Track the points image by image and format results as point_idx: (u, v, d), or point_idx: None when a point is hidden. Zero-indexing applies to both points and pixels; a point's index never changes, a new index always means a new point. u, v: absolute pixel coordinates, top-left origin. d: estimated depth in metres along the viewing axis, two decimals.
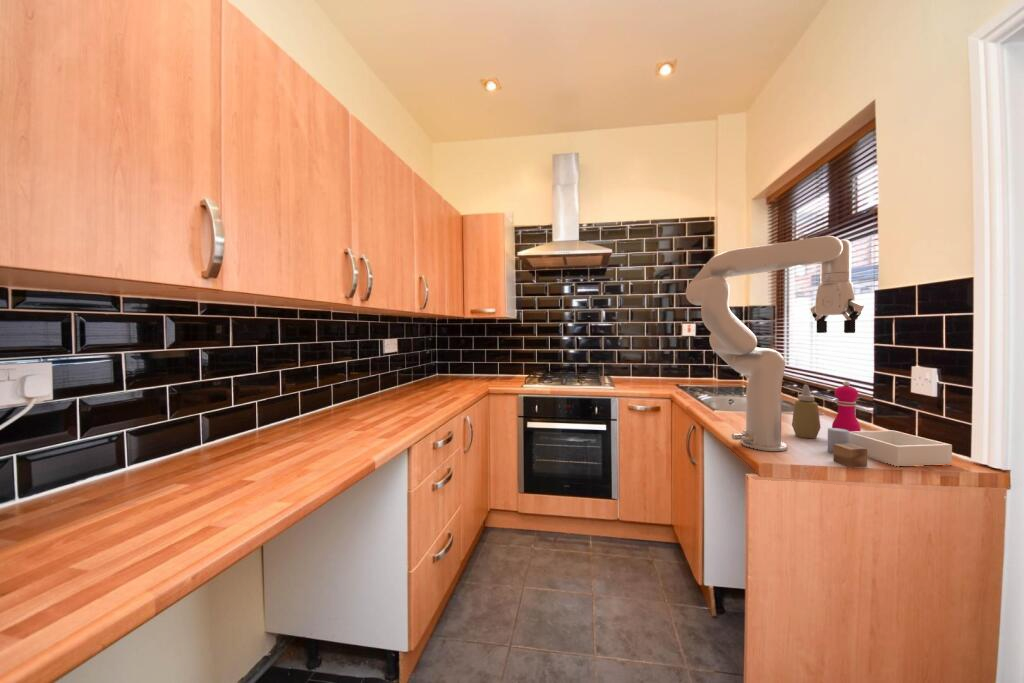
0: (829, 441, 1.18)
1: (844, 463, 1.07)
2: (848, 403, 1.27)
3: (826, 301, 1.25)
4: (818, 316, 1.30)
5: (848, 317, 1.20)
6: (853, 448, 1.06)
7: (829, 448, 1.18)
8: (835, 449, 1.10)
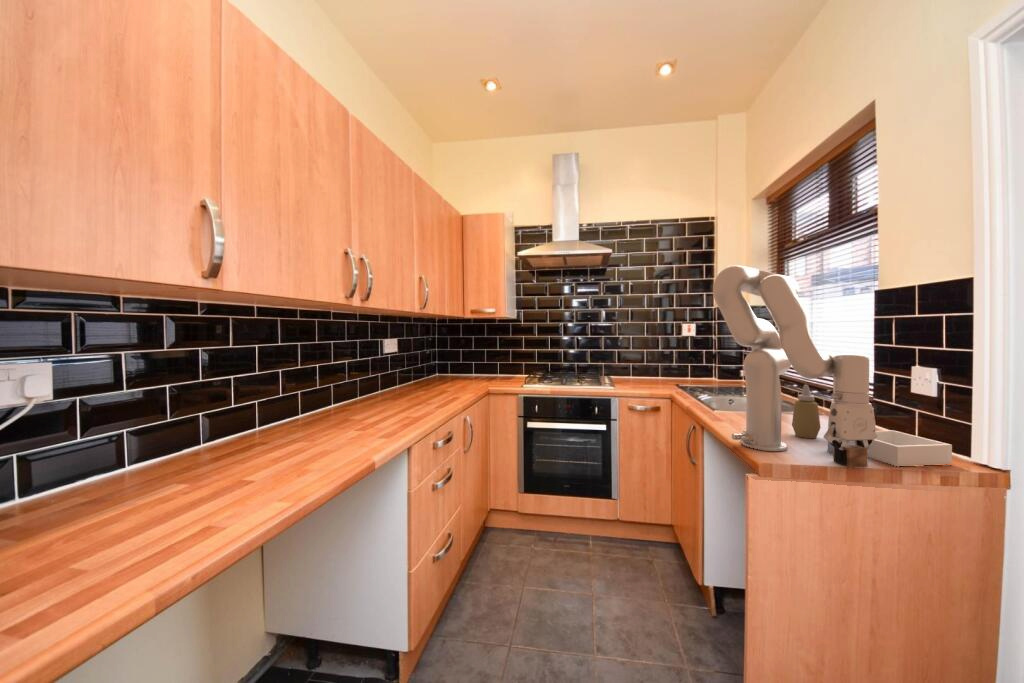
0: None
1: None
2: None
3: (859, 425, 1.05)
4: (845, 444, 1.07)
5: (867, 446, 1.07)
6: (853, 448, 1.06)
7: (829, 448, 1.18)
8: None
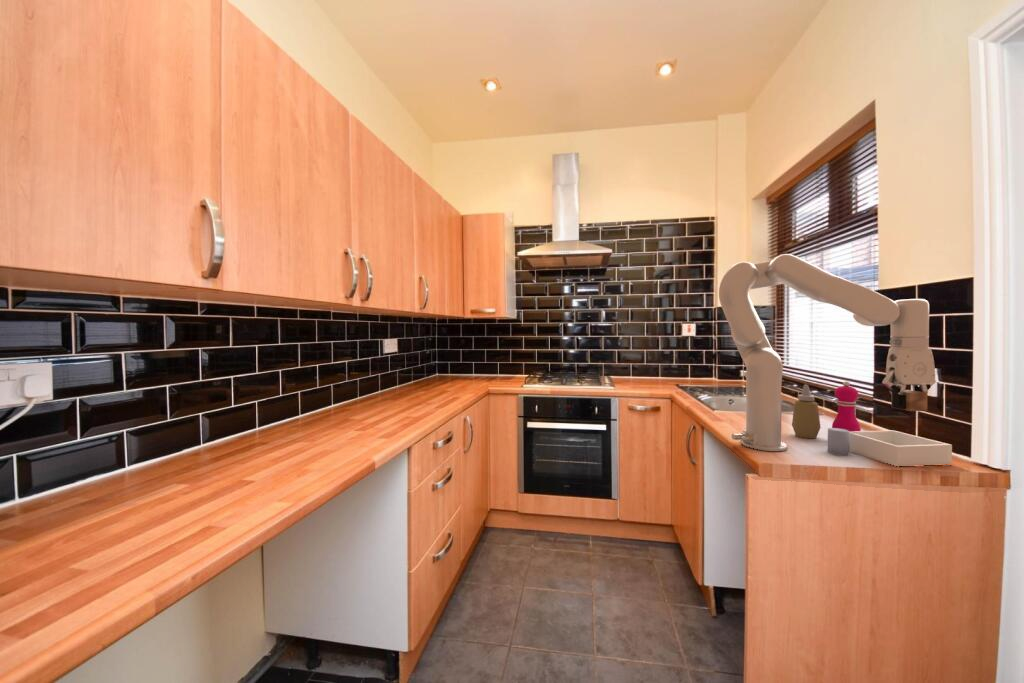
0: (829, 441, 1.18)
1: None
2: (848, 403, 1.27)
3: (919, 369, 1.06)
4: (904, 389, 1.08)
5: (926, 391, 1.08)
6: (913, 392, 1.07)
7: (829, 448, 1.18)
8: None
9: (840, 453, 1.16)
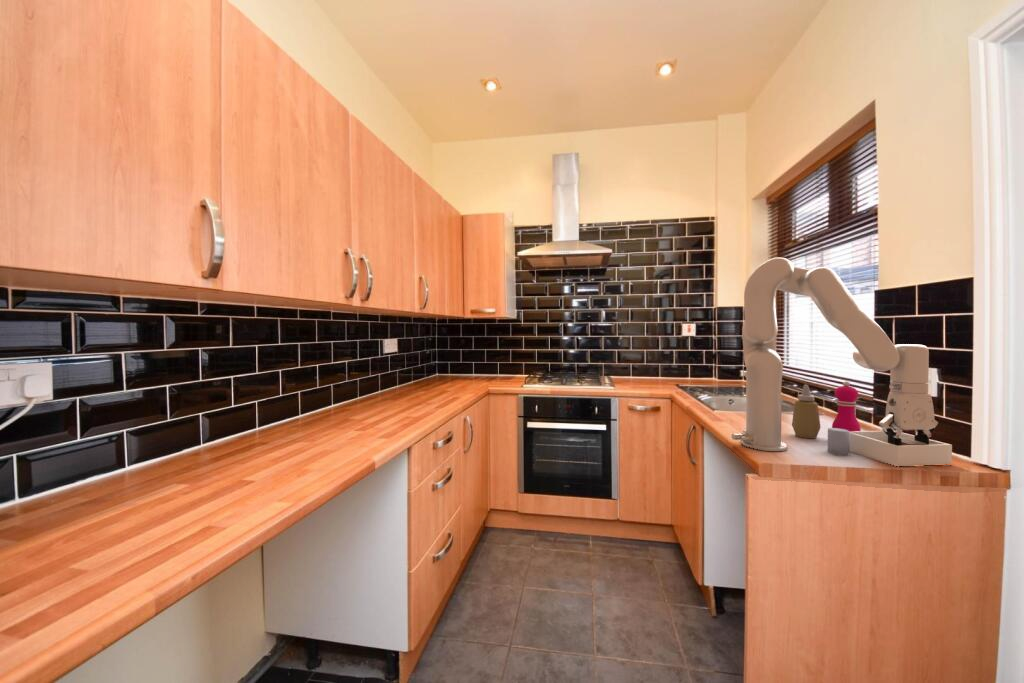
0: (829, 441, 1.18)
1: None
2: (848, 403, 1.27)
3: (918, 415, 1.07)
4: (900, 433, 1.08)
5: (929, 434, 1.09)
6: (912, 443, 1.08)
7: (829, 448, 1.18)
8: None
9: (840, 453, 1.16)
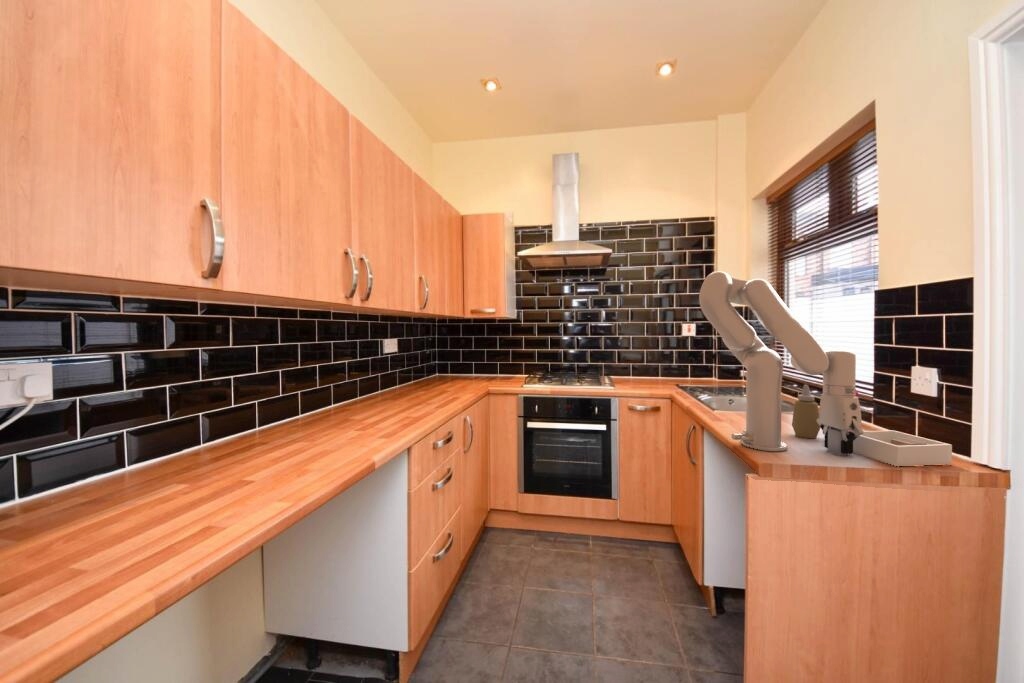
0: (829, 441, 1.18)
1: None
2: None
3: None
4: None
5: None
6: (912, 443, 1.08)
7: (829, 448, 1.18)
8: None
9: (840, 453, 1.15)
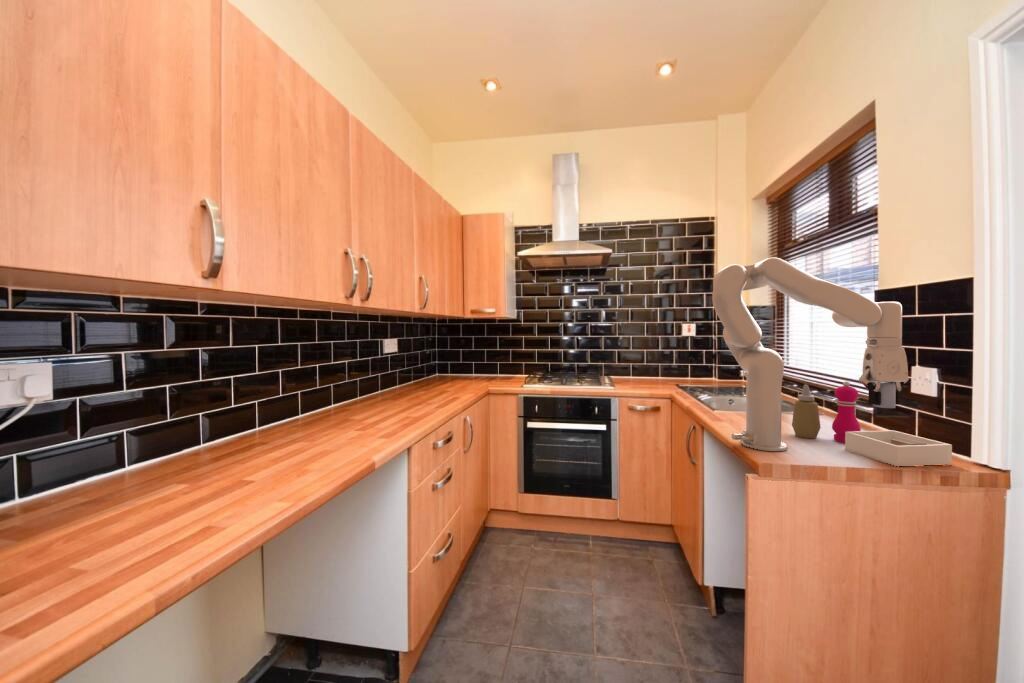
0: None
1: None
2: (848, 403, 1.27)
3: (893, 367, 1.13)
4: (879, 386, 1.15)
5: (900, 388, 1.15)
6: (912, 443, 1.08)
7: None
8: None
9: None
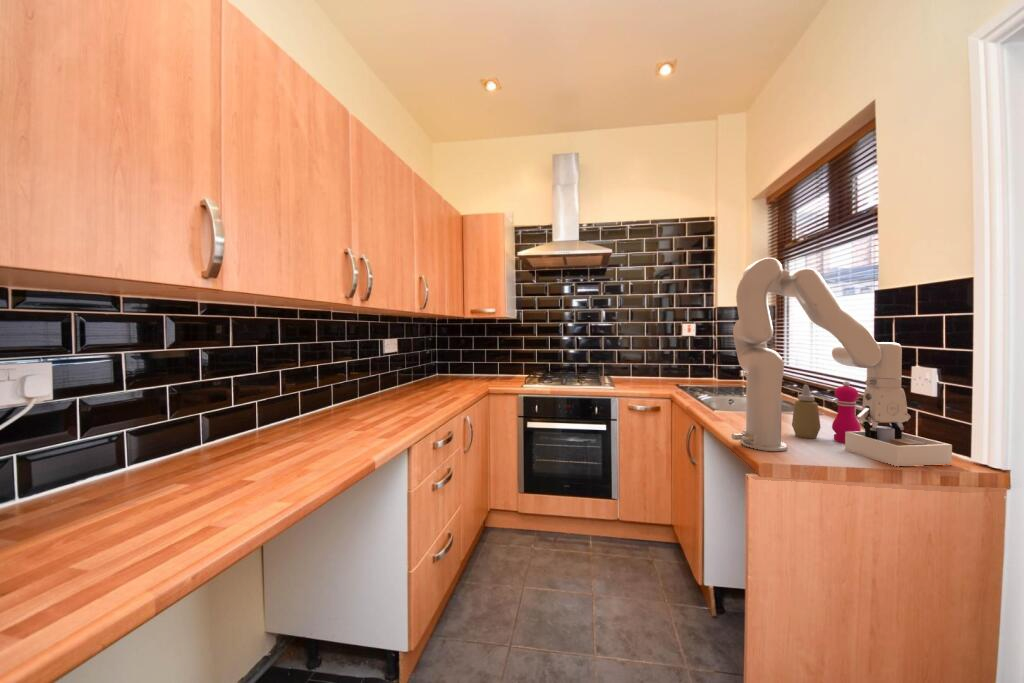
0: None
1: None
2: (848, 403, 1.27)
3: (892, 408, 1.14)
4: (876, 425, 1.15)
5: (902, 427, 1.16)
6: (912, 443, 1.08)
7: None
8: None
9: None
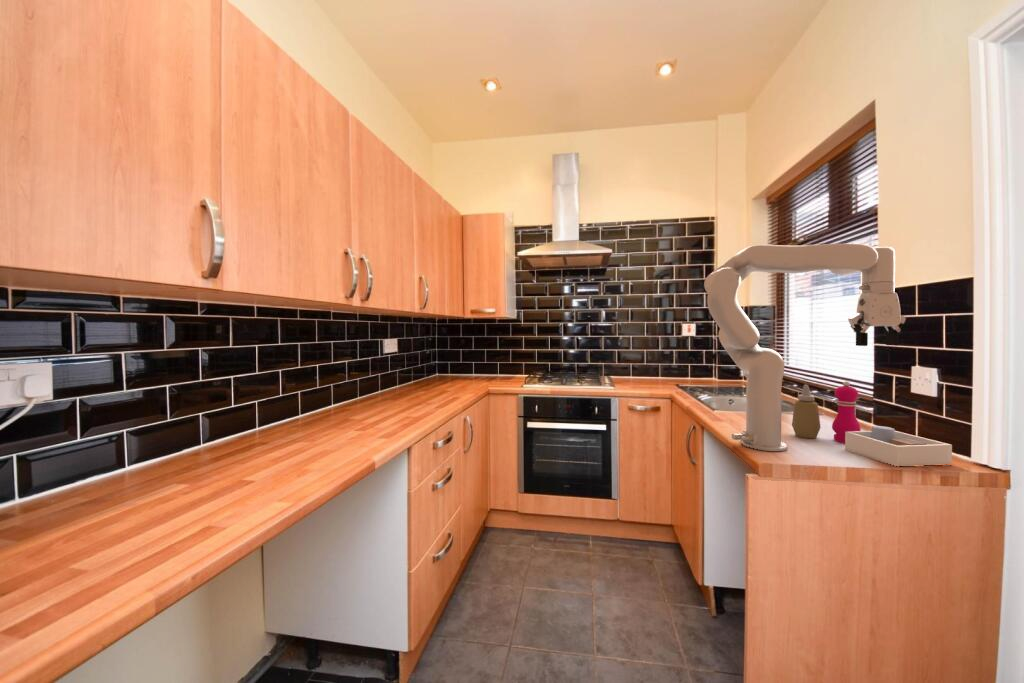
0: None
1: None
2: (848, 403, 1.27)
3: (886, 311, 1.15)
4: (866, 327, 1.17)
5: (898, 329, 1.17)
6: (912, 443, 1.08)
7: None
8: None
9: None
